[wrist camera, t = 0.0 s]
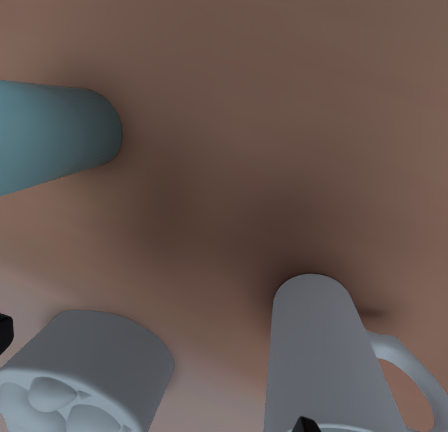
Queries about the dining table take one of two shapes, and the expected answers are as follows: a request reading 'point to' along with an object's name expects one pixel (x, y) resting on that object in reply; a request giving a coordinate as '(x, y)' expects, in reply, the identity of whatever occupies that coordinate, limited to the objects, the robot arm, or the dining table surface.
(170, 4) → the dining table surface
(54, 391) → the lumpy-topped squat cylinder
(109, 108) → the aqua tapered cylinder
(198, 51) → the dining table surface
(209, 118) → the dining table surface
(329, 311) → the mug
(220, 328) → the dining table surface
